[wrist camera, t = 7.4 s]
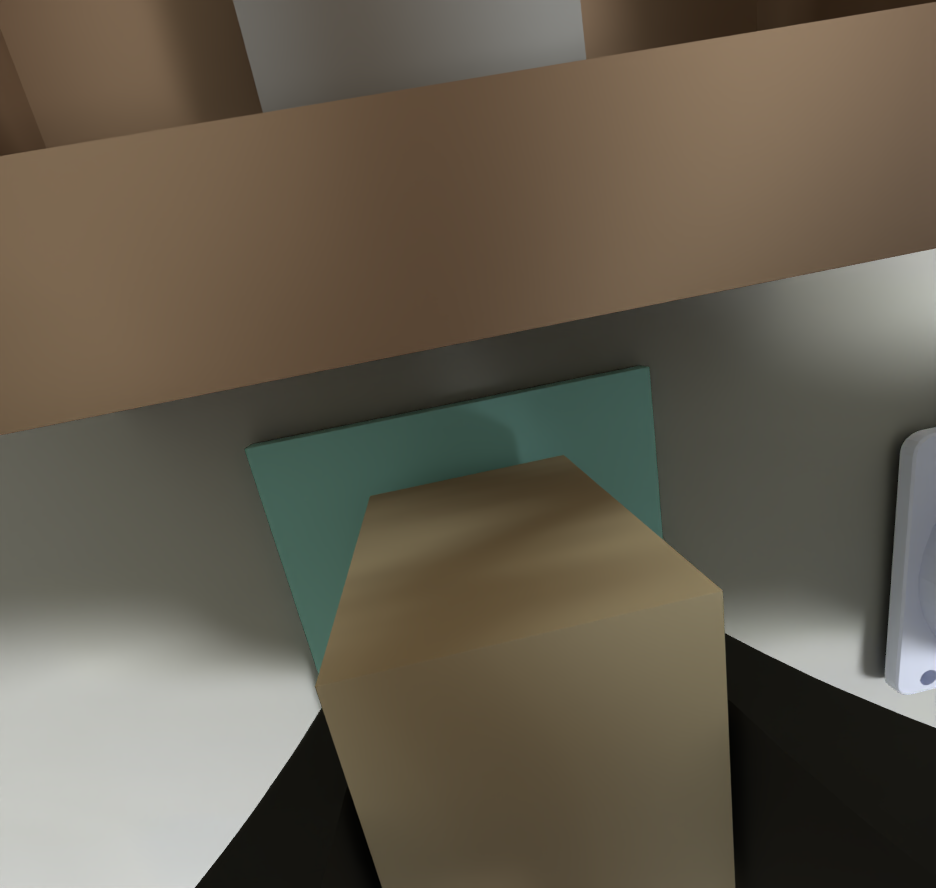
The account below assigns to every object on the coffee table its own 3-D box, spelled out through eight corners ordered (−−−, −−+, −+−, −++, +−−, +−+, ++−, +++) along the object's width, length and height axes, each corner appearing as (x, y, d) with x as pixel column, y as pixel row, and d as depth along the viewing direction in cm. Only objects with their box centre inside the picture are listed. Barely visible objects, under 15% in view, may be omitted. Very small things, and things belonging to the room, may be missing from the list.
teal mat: (640, 365, 10) (649, 366, 10) (667, 680, 13) (675, 691, 12) (251, 444, 10) (244, 449, 10) (352, 758, 12) (350, 771, 12)
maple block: (563, 455, 9) (722, 591, 4) (595, 691, 11) (739, 983, 6) (370, 495, 9) (314, 687, 4) (431, 731, 11) (442, 1068, 6)
